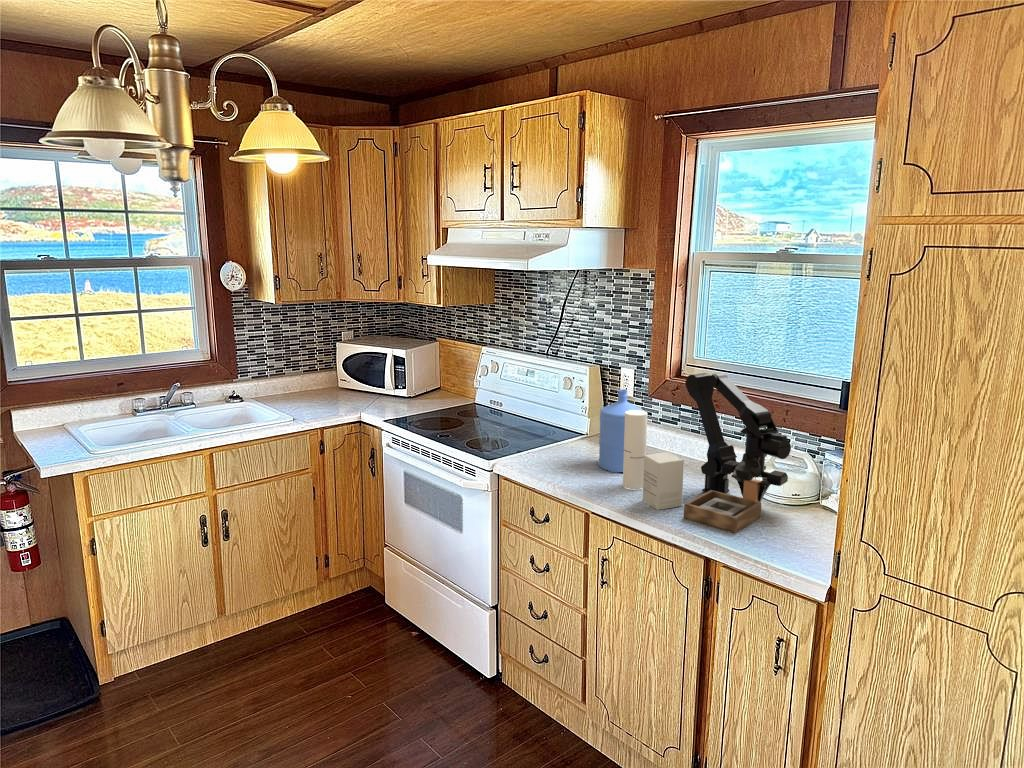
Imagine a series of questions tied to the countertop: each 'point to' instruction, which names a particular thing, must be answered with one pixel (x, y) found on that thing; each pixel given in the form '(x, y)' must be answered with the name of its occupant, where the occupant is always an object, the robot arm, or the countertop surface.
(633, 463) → the cylindrical container
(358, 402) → the countertop surface
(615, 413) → the water jug
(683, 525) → the countertop surface
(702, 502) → the tray
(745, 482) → the block
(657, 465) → the supplement box
